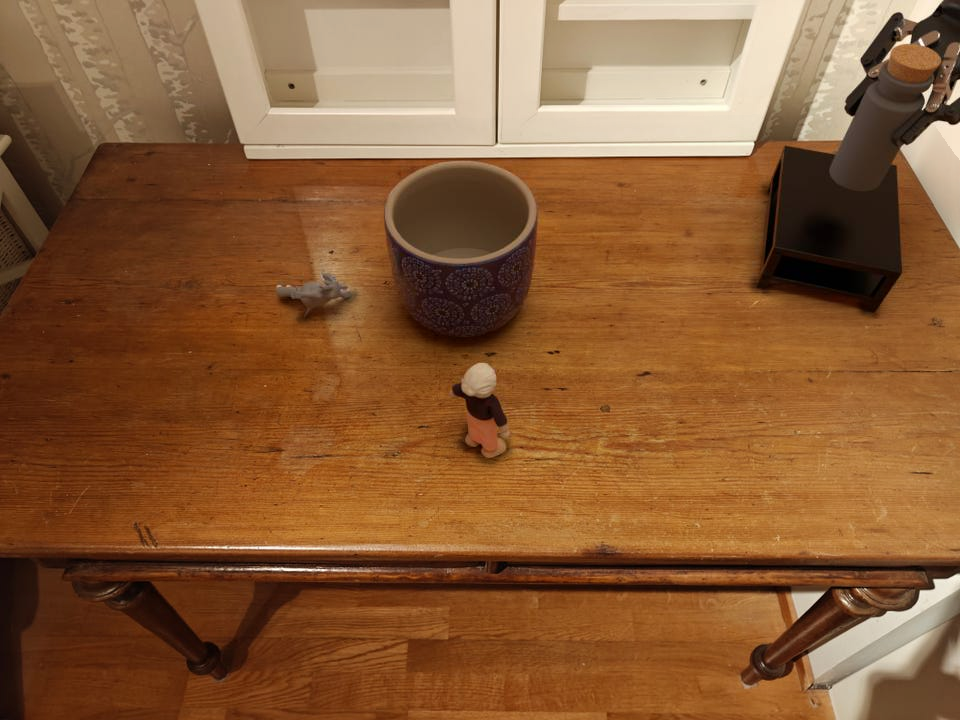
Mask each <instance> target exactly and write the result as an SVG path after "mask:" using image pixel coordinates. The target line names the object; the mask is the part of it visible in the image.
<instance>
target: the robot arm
mask: <svg viewBox="0 0 960 720" xmlns="http://www.w3.org/2000/svg"><path fill="white" fill-rule="evenodd" d="M908 36H910V42H909V44H917V45H921V46H925V47H927V48H930V49H932V50H933V51H935V52H936V53H937V54H938V55H939V56H940V58H941V64H940V65H939V66H938V68H937V69H936V70H935V71H934V72H933V75H934V81H933V83H932V86H931V92H930V94H929V96H928V99H927V101H926V103H925V105H924V106H925V107H923V108H922V110H921V109H919V110H918V111H917V112H916V113H915V114H914V115H913V116H912V117H911V118H910V119H909V120H908V121H907V122H906V123H905V124H904V125H903V126H902V127H901V128H900V129H899V130H898V131H897V132H896V133H895V134H894V135H893V136H892V138H891V140H892V143H893V144H894V145H895V146H897V147H898V148H900V147H901V148H902V147H903V146H904V145H905V146H909V145H910V144H912V143H914V142H915V141H916V140H917V139H918V138H919V137H920V136H921V135H922V134H923V133H924V132H925V131H926V130H927V129H928V128H929V127H930V126H931V125H932V124H933V123H935V122H943V123H948V125H950V126H956V125H958V124H959V123H960V96H959V97H957V99H955V100H954V101H952V102H951V103H950V104H947V103H948V102H949V101H950V100H951V97H952V95H953V92H954V90H955V87H956V85H957V82H958V81H960V0H942V1H941V2H940V3H939V5H938V6H937V7H936V8H935V9H934V11H933V12H932V13H931V14H930V15H929V16H927V17H926V18H923V19H921V20H919V21H918V22H917V21H913V20H910V19H907V18H904V14H903V12H901V11H896V12H894V13H893V14H892V15H891V16H890V17H889V18H888V20H887V21H886V22H885V24H884V25H883V27H882V28H881V30H880V31H879V32H878V33H877V35H876V37H875V38H874V39H873V41H872V42H871V43H870V44H869V46H868V47H867V49H866V50H865V52H864V53H863V54H862V55H861V57H860V60H859V61H860V65H861V66H862V68H863V71H864V73H865V76H864V78H863V79H862V80H861V81H860V82H859V84H857V86H856V87H855V88H854V89H853V90H852V91H851V92H850V93H849V94H848V95H847V97H846V99H845V100H844V103H845V105H844V107H843V108H844V111H845V113H846V114H847V115H848V116H850V117H852V118H853V117H854V115H855V113H856V111H857V109H858V107H859V105H860V103H861V100H862V98H863V96H864V94H865V92H866V90H867V89H868V87H869V86H870V85H871V84H873V83H875V82H877V81H880V80H879V78H878V74H879V71H880V69H881V67H882V66H883V65H884V64H885V63H886V62H888V61H889V58H887V56H888V54H889V53H891V51H892V49H893V48H894V47H895V45H896V44H897V43H901V42H902V41H904V39H905V38H907V37H908ZM885 58H887V59H885ZM901 148H900V149H901Z"/></svg>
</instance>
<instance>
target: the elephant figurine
mask: <svg viewBox="0 0 960 720" xmlns="http://www.w3.org/2000/svg"><path fill="white" fill-rule="evenodd" d="M324 271H325V270H324V269H322V270H321V271H320V273H319V279H320V280H321V282H318V281H308V282H304V283H303V284H302V285H301V287H299V286H298V285H294V286H292V285H290V284H286V286H283V285H281V284H277V285H276V288H275V293H276V296H277V297H278V298H288V297H289V298H291V300H294V299H296V300H297V299H299V300H300V301H301V303H302V304H303V305H304V306H305V307H306V312H305V313H304V315H303V317H302V318H303V319H305V318H306V316H307V315H308V314H309V313H310V312H311V310H313V309H314V308H320V307H323V306H325V305H326V304H328V303H330V302H331V301H332V300H337V299H339V298H343V299H347V298H351V296H353V292H352V290H348V288H349V286H348V285H346V284H341V283H339V280H337V278H336V277H335V276H334V275H333V274H332V273H331V272H332V269H330V270H329V271H328V272H325V273H324ZM322 283H323V284H324V285H323V284H322Z"/></svg>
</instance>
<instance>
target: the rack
mask: <svg viewBox="0 0 960 720" xmlns="http://www.w3.org/2000/svg"><path fill="white" fill-rule="evenodd" d="M835 155H836V153H829V152H824V151H818V150H813V149H807V148H800V147H795V146H789V145H784V146H783V149H782V151H781V153H780V156H779V158H778V161H777V163H776V166H775V168H774V171H773V173H772V176H771V178H770V181H769V183H768V185H767V190H766V193H767V194H768V193H769V198H768V205H767V215H766V222H765V233H764V234H765V235H764V240H763V241H764V242H763V250H762V257H761V259H762V260H761V268H760V273H759V275H758V278H757V280H756V286H755V287H756V288H757V289H762V290H767V288H768V286H769V284H770V282H773V283H779V284H783V285H788V286H793V287H798V288H802V289H807V290H811V291H816V292H821V293H825V294H831V295H835V296H840V297H844V298H849V299H853V300H857V301H864V302H865V303H864V312H868V313H873V314H875V313H876V312H877V310H878V309H879V307H880V306H881V305H882V304H883V302H884V300H885V299H886V297H887V296H888V295H889V293H890V292H891V290H892V289H893V287H894V286H895V284H896V283H897V281H898V280H899V279H900V277H901V276H902V274H903V262H902V261H903V259H902V241H901V225H900V224H901V223H900V220H901V219H900V203H899V185H898V184H899V183H898V165H896V164H893V163H892V164H891V166H890V168H889V169H888V171H887V173H886V175H885V176H884V178H883V180H882V181H881V183H880V184H879V186H878V187H876V188H875V189H873V190H869V191H854V190H850V189H847V188H845V187H842V186H841V185H839V184H837V183H836V182H835V181H834V180H833V179H832V177H831V175H830V172H829V171H830V167H831V164H832V162H833V160H834V157H835Z"/></svg>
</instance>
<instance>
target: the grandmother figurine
mask: <svg viewBox="0 0 960 720" xmlns="http://www.w3.org/2000/svg"><path fill="white" fill-rule="evenodd" d="M497 378H498V377H497V374H496V371H495V369H493V368H492V367H491V365H489V363H487V362H478V363H475V364H473V365H472V366H470V367H469V368H468V369H467V370H466V372H465V373H464V375H463V378H461V382H458V383H454V384H453V385H452V386H451V390H449V396H450V398H451V399H454V400H457V399H459V398H461V399H464V401H465V408H466V423H467V429H468V430H467V431H468V433H467V435H466V436H465V439H464V443H465V444H466V445H467V446H469V447H471V448H475V447H478V446H479V445H481V446H482V447H481V450H480V451H481V454H482V456H483V457H484V458H486V459H492V458H495V457H497V456H499V455H501V454H504V453H505V452H506V450H507V444H506V441H505V440H507V439H509V438H510V437H511V431H510V429H509V424H508V417H507V416H506V414H505V412H504V411H503V408H502V404H501V401H500V400H499V398H498V397H497V396H496V394H494V392H495V390H496V385H497ZM497 429H498V431H499V436H500V437H498V431H497Z"/></svg>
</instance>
